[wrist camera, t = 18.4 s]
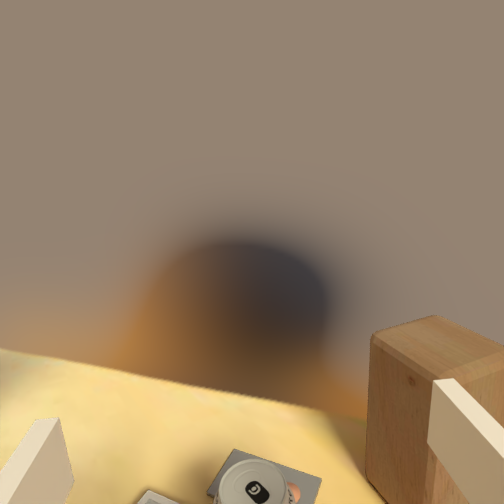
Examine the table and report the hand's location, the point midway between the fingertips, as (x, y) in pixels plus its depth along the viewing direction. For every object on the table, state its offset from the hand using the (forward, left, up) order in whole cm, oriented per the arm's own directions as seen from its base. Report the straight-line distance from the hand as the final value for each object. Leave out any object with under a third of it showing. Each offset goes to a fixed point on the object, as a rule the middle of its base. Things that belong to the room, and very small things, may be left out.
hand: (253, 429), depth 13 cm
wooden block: (+7, +28, -30) cm, 42 cm away
